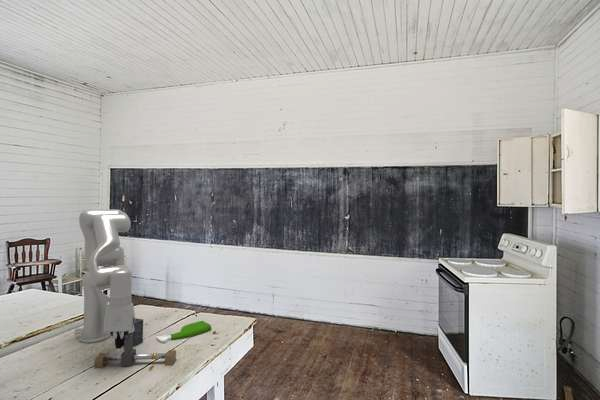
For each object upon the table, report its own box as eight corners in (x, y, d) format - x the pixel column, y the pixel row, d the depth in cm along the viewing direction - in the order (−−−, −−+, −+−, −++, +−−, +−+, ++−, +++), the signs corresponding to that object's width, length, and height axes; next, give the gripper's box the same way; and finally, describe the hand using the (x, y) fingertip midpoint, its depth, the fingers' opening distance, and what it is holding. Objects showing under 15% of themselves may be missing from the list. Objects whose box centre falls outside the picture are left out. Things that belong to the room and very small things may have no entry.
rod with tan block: (89, 373, 120) (89, 363, 120) (104, 357, 132) (104, 348, 132) (170, 369, 124) (170, 359, 124) (178, 354, 136) (178, 345, 136)
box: (119, 344, 144) (119, 321, 144) (129, 339, 149) (130, 316, 149) (133, 347, 142) (133, 323, 142) (143, 342, 147) (143, 319, 147)
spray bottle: (212, 331, 162) (164, 347, 144) (201, 325, 169) (154, 339, 151) (212, 325, 162) (164, 340, 144) (201, 319, 169) (154, 333, 151)
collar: (119, 366, 124) (120, 341, 124) (126, 359, 130) (126, 334, 130) (130, 366, 125) (131, 340, 125) (136, 358, 131) (137, 334, 131)
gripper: (95, 304, 122) (94, 352, 122) (136, 303, 124) (135, 351, 124) (105, 298, 130) (104, 343, 130) (143, 297, 132) (143, 342, 132)
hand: (119, 347), depth 127 cm, fingers closed
